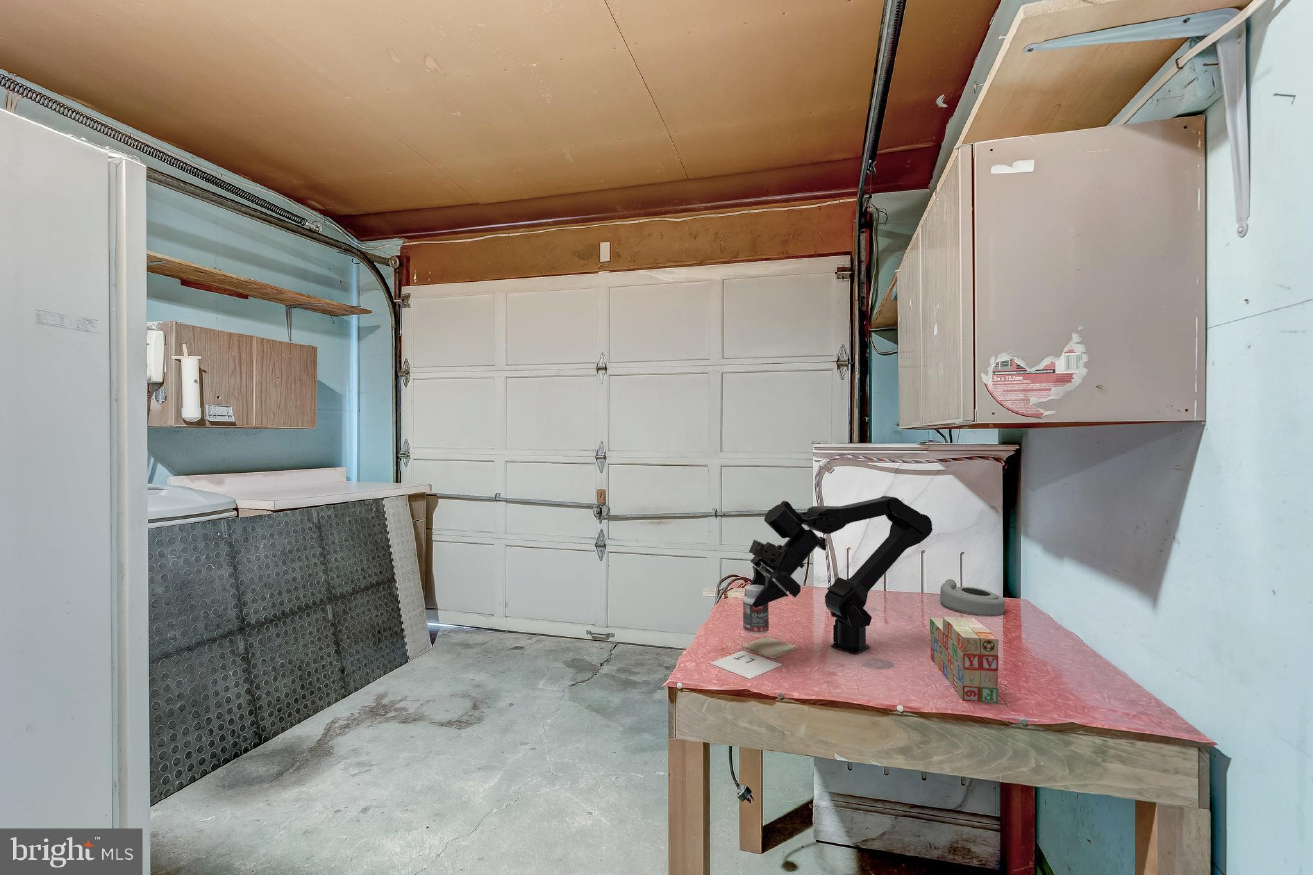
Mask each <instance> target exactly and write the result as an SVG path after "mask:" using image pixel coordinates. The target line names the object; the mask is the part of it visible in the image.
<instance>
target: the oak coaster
mask: <svg viewBox="0 0 1313 875" xmlns="http://www.w3.org/2000/svg"><path fill="white" fill-rule="evenodd" d="M741 649H743V650H747V651H750V652H753V653H755V654H758V655H761V656H764V657H767V658H771V659H777V658H778V657H781V656H783V655H785V654H787V653H790V652H793V651H795V650H797V645H793V644H790V643H787V642H784V641H782V640H778V639H776V638H775V639H774V638H771V637H768V636H762V637H761V638H758V639H754V640H753V641H749V642H747V643H744V644H742V645H741Z"/></svg>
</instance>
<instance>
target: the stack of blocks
mask: <svg viewBox="0 0 1313 875" xmlns="http://www.w3.org/2000/svg"><path fill="white" fill-rule="evenodd" d="M929 631H930V659H931V660H932V662H933V663H934V665H935V666H936V668H938V670H939V672H941V674H942V675H943V676H944V678H945V679H946V680H947V681H948V683H949V684H950V686H951V687H952V686H953V687H952V689H953V688H954V689H953V690H954V692H955V693H956V692H957V693H956V694H957V696H958V697H959V698H960V700H961V699H962V700H961V701H963V702H971V701H973V703H975V702H974V701H977V702H976V703H985V702H988V703H987V704H998V703H999V687H998V686H999V672H998V671H999V645H1000V644H999V642H1000V640H999V638H998V637H997V636H996V635H994V634H993V632H992V631H991V630H990V629H988V628H987V627H985V626H984V625H983V624H982V623H980V622H979V621H978V620H977V619H976V618H975V617H954V616H942V618H940V617H937V618H936V617H929Z"/></svg>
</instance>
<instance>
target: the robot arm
mask: <svg viewBox="0 0 1313 875" xmlns="http://www.w3.org/2000/svg"><path fill="white" fill-rule="evenodd" d="M883 516H885V517H886V519H887V520H888V521H889V522H890V523H891V524H890V526H889V533H888V535H887V537H886V538H885V539H884V540H883V542H882V543H881V544H880V545H879V546H878V547H877V548H876V549H875V550H874V551H873V553H872V554H870V556H869V557H868V558H867V559H866V560H865V561H864V562H863V564H862V565H861V566H860V567H859V568H858V569H857V570H856V571H855V573H854V574H853V575H852V576H850V577H849V578H847V579H845V578H842V577H837V578H836V579H835V580H834V582H833V583H832V584H831V585H830V586H828V587H826V590H827V592H826V593H825V595H824V603H825V607H826V608H827V610H829V613H830V615H831V617H832V618H834V624H833V626H832V632H833V634H832V637H833V638H832V639H833V640H832V641H833V643H831V645H830V647H831V648H834V649H837V650H841V651H844V652H847V653H850V654H855V655H857V654H859V653H862V652H863V651H865V650H867V649H870V645H869V644H867V639H866V638H867V627H869V626H870V625H871V621H872V619H873V617H872V616H871V614H870V613H869V612H868V611H867V610H866V609H865V608H864V607H866V605H867V600H868V596H869V592H870V590H872V588H873V587H874V586H875V585H876V584H877V583H878V581H879V580H880V579H881V578H882V577H883V576H884V575H885V573H887V572H888V571H889V569H890V568H891V567H893V565H894V564H895V562H896V561H897V560H899V558H900V557H901V556H902V555H903V554H904V552H905V551H906V550H907V549H909V548H911V547H914V546H916V545H919V544H921V543H922V542H923V541H925V540H926V539H927V538H928V537H929V536H931V534H932V532H933V521H932V519H931V517H929V516H928V515H926V514H923V513H921V512H919V511H918V510H916V509H914V508H913V507H911V506H909V505H907V504H905V503H904V502H903V501H902V500H901V499H899V498H898V497H895V496H890V495H889V496H888V495H883V496H880V497H877V498H871V499H868V500H863V501H857V502H854V503H849V504H848V503H847V504H845V505H840V506H839V505H835V506H833V505H814V506H811V507H809V508H807V511H804V512H798V511H797V510H796V509H794V507H793V506H792V504H791V503H790V502H789V501H787V500H782V501H781V502H780V503H779V504H777V505H775V506H773V507H771V509H769V510H767V513H766V514H765V516H764V517H763V518H764V519H763V520H764V522H765V523H766V524H767V525H768V526H769V527H770V528H771V529H772V530H773V531H774V532H775V533H776V534H777V535H778V536H779V537H780V538H781V539H787V540H786V541H785V543H784V544H783V545H782V544H777V545H776V544H774V543H771V542H769V541H767V542H765V543H764V542H761V541H758V540H757V539H753V541H752V543H751V545H750V548H749V550H748V553H749V554H752V555H753V556H754V557H752V559H751V560H750V563H751V564H752V570H753V577H752V580H751V582H750V584H749V585H762V586H764V587H763V589H762V590H761V592H760V593H759V594H758V596H757V597H756V599H755V600H754V602H753V604H752V606H754V607H755V608H757V607H760V606H762V605H765V604H767V603H768V604H769V603H771V602H775V601H777V600H779V599H782V598H785V597H789V596H792V597H793V598H794V599H796V598H797V596H799V594H800V593H801V591H802V590H801V586H802V585H800V583H798V582H797V581H796V580H795V579H794V578H793V577H792V575H793V574H794V573H795V572H796V571H797V570H798V569H799V568H801V569H803V568H804V567H805V564H804V562H805V561H806V559H808V557H809V556H810V555H811V554H812V553H813V551H815V549H816V548H818V549H820V550H822V551H824V552H826V551H827V545H826V543H827V542H826V540H827V539H826V538H825V537H823V536H818V534H817V533H815V532H818V533H822V534H825V535H830V534H833V533H835V532H838V531H840V530H842V529H844V528H845V527H846V526H847V525H849V524H852V523H856V522H860V521H865V520H869V519H873V518H879V517H883ZM804 526H806V527H807V529H806V528H805V527H804ZM745 596H746V593H745V595H744V597H745ZM744 597H743V598H744Z"/></svg>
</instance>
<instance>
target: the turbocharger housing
mask: <svg viewBox="0 0 1313 875" xmlns="http://www.w3.org/2000/svg"><path fill="white" fill-rule="evenodd" d="M957 586H958V585H957V582H956V580H954V579H952V578H947V579H946V580H945V581H944V583H942V584H941V586H940V590H939V591H940V593H939V595H940V596H939V601H940V604H942V606H944V607H945V608H947V609H948V610H949V609H950V610H952V611H954V610H955V612H957V611H959V612H958V613H961V612H962V613H961V614H965V613H968V614H967V615H971V614H972V616H979V615H985V616H984V617H994V615H996V616H999V615H1000V616H1001V615H1002V614H1004V612H1005V611H1006V600H1005V598H1004V597H1003V596H1001V595H999V594H997V593H994V592H993V591H989V590H987V589H983V588H979V587H974V586H958V587H957Z"/></svg>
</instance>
